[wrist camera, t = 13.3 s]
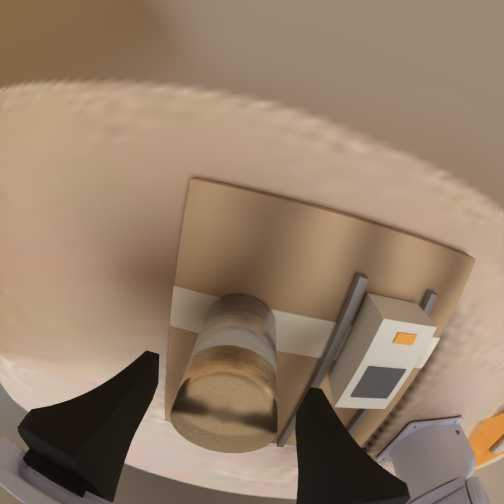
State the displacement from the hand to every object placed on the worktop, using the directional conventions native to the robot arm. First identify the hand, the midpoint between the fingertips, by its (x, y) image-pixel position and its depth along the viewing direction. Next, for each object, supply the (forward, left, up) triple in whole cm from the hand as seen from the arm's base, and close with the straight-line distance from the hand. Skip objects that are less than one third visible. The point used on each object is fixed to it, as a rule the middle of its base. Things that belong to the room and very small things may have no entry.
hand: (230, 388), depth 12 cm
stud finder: (-9, -1, -6) cm, 10 cm away
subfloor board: (-5, +2, -7) cm, 9 cm away
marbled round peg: (0, 0, -6) cm, 6 cm away
